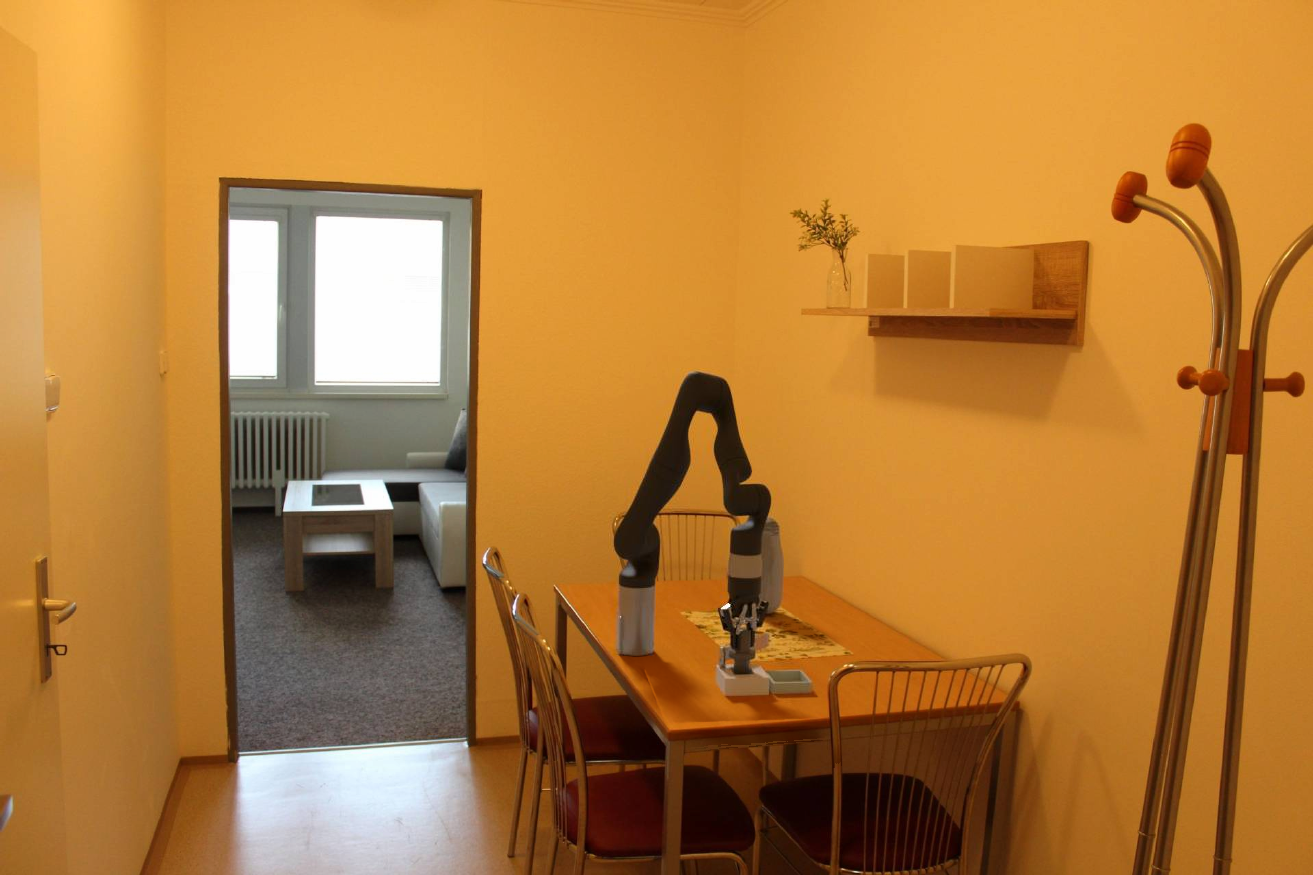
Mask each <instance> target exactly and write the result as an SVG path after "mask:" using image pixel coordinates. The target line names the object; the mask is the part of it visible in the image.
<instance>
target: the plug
mask: <svg viewBox="0 0 1313 875" xmlns="http://www.w3.org/2000/svg"><path fill="white" fill-rule="evenodd" d="M739 634H740V650H737V651H736V650H733V649H732V648H731V649H729V657H730V658H732V659H733V664H734V671H733V673H734V674H735V675H742V674H749V672H750V664H751V661H752V660H754V659H756V653H757V651H755V650H753V649H750V644H751V630H750V629H747V628H746V627H741V630H740V633H739ZM732 659H731V660H732Z"/></svg>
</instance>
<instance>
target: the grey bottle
mask: <svg viewBox="0 0 1313 875" xmlns="http://www.w3.org/2000/svg"><path fill="white" fill-rule="evenodd" d="M780 533H781V532H780V525H779V523H778V521H776V520H775V519H774V518H771V517H767V520H766V523H765V527H764V531H763V534H762V548H761V558H762V580H761V593H760V595H759V598H760V600H764V601H767V602H769V606H768V609H767V612H766V615H770V614H773V613H775V612H777V610H778V609H779V608H780V606H781V604H782V600H783V588H784V585H783V584H784V572H785V571H784V569H785V568H784V565H785V563H784V553H783V552H784V551H783V549H782V543H781V535H780Z"/></svg>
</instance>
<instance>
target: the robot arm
mask: <svg viewBox="0 0 1313 875" xmlns="http://www.w3.org/2000/svg"><path fill="white" fill-rule="evenodd" d="M696 412H701V413H705V414H710V415H711V417H712V418H713V419H714V421H715V424H716V427H717V431H716V436H715V439H714V442H713V454H714V459H715V462H716V465H717V467H718V470H719V472H720V473H719V474H720V475H721V481H722V500H723V501H722V502H723V507H724V510H725V511H727V513H728V514H730V516H732V517H744V516H745V517H746V516H747V519H746V521H745V522H744V523H741V524H739V525H736V526H734V527H732V529H731V531H730V536H729V557H728V561H727V562H728V564H727V566H728V567H727V590H726V591H727V593H728V596H729V597H728V601H727V604H726V605H724V606H723V607H722V606H718V607H717V611H718V616H719V619H720V620H719V621H720V622H721V626H722V627H721V628H722V630H723V631H725V632H728V633H729V638H730V639H729V644H730V646H731V648H732V649H733V650H736V651H737V650H740V634H739V633H740V630H741V628H742V625H744V624H745V628H747V629H750V630H751V644H750V648H751V647H753V646H754V643H755V635H756V631H757V629H758V628H762V627H763V625H764V621H765V619H766V615H767V614H766V612H767V609H768V606H769V602H767V601H764V600H760V598H759V595H760V593H761V580H762V558H761V548H762V534H763V531H764V527H765V523H766V520H767V517H768V516H769V513H770V511H771V508H772V507H771V506H772V494H771V491H770V490H769V487H767V485H765V484H762V483H744V482H746V481H747V480H749V479H750V478H751V476H752V474H753V473H752V472H753V469H752V465H751V463H750V460H749V457H748V455H747V452H746V450H745V447H744V445H743V442H742V438H741V435H740V431H739V426H738V421H737V416H736V415H737V414H736V409H735V405H734V400H733V395H732V390H731V387H730V385H729V383H728V381H727V380H726V379H725V378H723V377H721V376H718V375H715V374H710V373H706V372H702V371H696V370H695V371H691V372H689V373H688V374H687V375H686V376H685V378H684V379H683V381H682V382H681V385H680V387H679V389H678V393H677V396H676V398H675V401H674V404H673V407H672V411H671V413H670V416H669V419H668V421H667V424H666V427H665V428H664V430H663V434H662V436H661V438H660V440H659V442H658V445H657V446H656V449H655V452H654V453H653V455H652V457H651V459H650V461H649V464H648V467H647V469H646V471H645V473H644V476H643V478H642V481H641V482H640V485H639V487H638V489H637V491H636V494H635V497H634V499H632V500H633V501H632V503H631V505H630V506H629V508H628V509H627V512H626V513H625V515H624V516H623V518H622V520H621V522H620V523H619V525H618V527H617V528H616V530H615V533H614V537H613V548H614V551H615V553H616V555H617V556H618V557H619V558H621V559H623V560H624V561H627V562H626V564H625V566H624V567H623V568H622V570H621V571H620V572H619V574H618V604H617V605H618V606H617V607H618V608H617V612H616V649H617V650H616V651H617V653H618V654H619V655H627V656H634V657H635V656H636V657H638V656H647V655H650V654H653V653H654V651H655V611H656V607H655V605H656V604H655V603H656V578H657V576H658V575H659V574H658V573H659V570H660V555H661V536H660V531H659V530H658V527H657V525H655V524H654V521H655V520H656V518H657V516H658V514H659V513H660V512H661V511H662V509H664V507H665V506H666V505H667V504H668V503H669V502H670V501H671V499H672V498H673V497H674V496H675V494H676V493H677V492H678V491H679V489H680V487H681V486H682V484H683V481H684V479H685V478H686V475H687V473H688V471H689V468H690V467H691V461H692V457H691V448H690V446H691V445H690V441H689V431H690V426H691V424H692V421H693V418H694V416H695V415H696ZM768 518H769V517H768Z"/></svg>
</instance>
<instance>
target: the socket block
mask: <svg viewBox="0 0 1313 875" xmlns="http://www.w3.org/2000/svg"><path fill="white" fill-rule="evenodd" d="M733 671H734V663H732V664H726V668H719V664H716V665H715V683H716V684H717V686H718V688H719V689H720V691H721V692H722V694H723V695H724V697H732V696H733V697H734V696H735V697H736V696H737V697H738V696H739V697H740V696H770V689H769V676H768V675H767V674H766V672H765V671H766V670H764V669H763V667H762V666H761V664H759V663H750V672H749V674H742V675H735V674H734V673H733Z"/></svg>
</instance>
